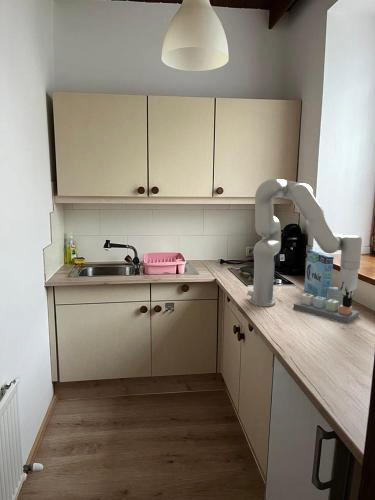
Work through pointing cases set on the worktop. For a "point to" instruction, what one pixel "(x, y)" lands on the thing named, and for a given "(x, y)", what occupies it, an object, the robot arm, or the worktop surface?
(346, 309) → the peach cube
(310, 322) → the worktop surface
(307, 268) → the gum box
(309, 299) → the key
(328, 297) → the medicine box
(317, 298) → the key
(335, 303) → the key
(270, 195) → the robot arm
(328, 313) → the keypad board
